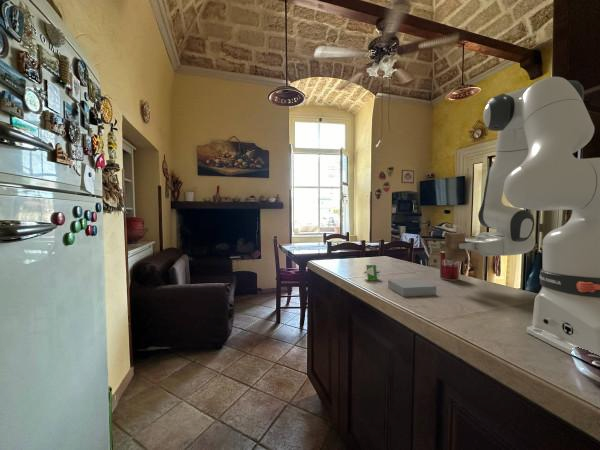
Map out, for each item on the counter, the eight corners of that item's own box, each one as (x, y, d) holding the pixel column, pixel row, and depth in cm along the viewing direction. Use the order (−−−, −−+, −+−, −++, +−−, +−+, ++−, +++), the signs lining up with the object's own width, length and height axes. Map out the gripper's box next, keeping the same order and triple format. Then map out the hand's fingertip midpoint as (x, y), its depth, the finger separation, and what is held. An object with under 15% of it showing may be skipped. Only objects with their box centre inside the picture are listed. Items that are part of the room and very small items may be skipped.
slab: (436, 294, 89) (436, 286, 89) (403, 296, 88) (403, 287, 88) (417, 286, 101) (417, 278, 101) (388, 287, 100) (388, 280, 100)
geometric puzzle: (361, 272, 119) (363, 260, 114) (376, 272, 119) (379, 260, 114) (364, 284, 114) (366, 272, 109) (380, 284, 113) (382, 272, 108)
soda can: (462, 280, 108) (462, 252, 108) (445, 281, 108) (445, 253, 108) (452, 277, 115) (452, 250, 115) (436, 277, 115) (436, 251, 115)
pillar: (465, 260, 92) (464, 233, 92) (453, 261, 91) (453, 233, 91) (456, 259, 96) (456, 232, 96) (445, 259, 96) (444, 233, 96)
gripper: (466, 234, 105) (434, 235, 104) (512, 237, 85) (473, 238, 83) (466, 249, 105) (435, 250, 104) (512, 256, 85) (473, 257, 84)
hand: (452, 245), depth 94 cm, fingers closed on pillar, 4 cm apart
